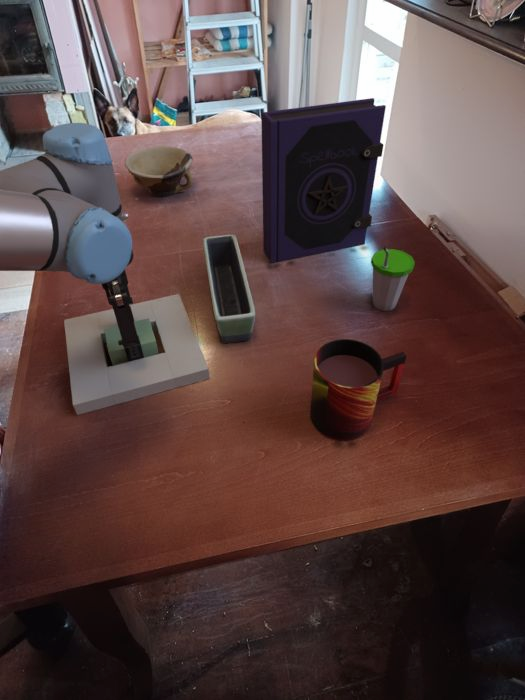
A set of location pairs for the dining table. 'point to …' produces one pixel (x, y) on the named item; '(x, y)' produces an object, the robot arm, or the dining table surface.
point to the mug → (349, 387)
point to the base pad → (139, 375)
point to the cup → (389, 276)
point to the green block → (145, 338)
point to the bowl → (161, 169)
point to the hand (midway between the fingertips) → (134, 350)
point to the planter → (229, 288)
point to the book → (318, 176)
